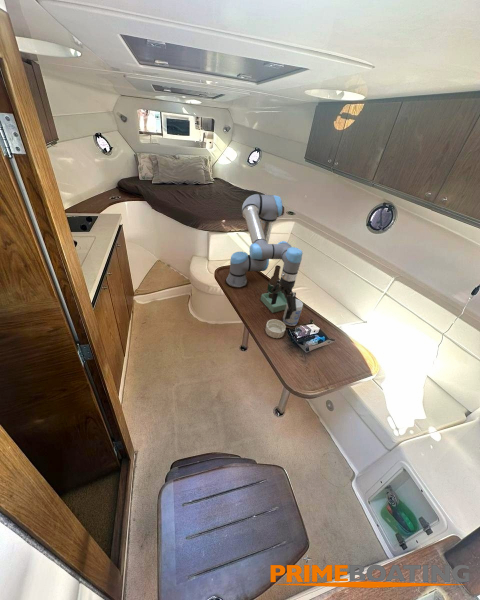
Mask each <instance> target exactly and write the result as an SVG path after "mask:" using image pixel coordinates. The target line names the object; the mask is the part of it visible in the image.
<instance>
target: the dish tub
mask: <svg viewBox="0 0 480 600" xmlns="http://www.w3.org/2000/svg"><path fill="white" fill-rule="evenodd" d="M268 297H269V293H267V292H265V293H261V295H260V298H259V299H260V301H261V302H262V303H263V304H264V305H265V306H266V308H267V309H268V310H269V311H270V312H271V313H272V314H274V313H277V312H281V311H285V308H286V304H287V300H286V298H285V295H284V294H283V293H282V292H281V291H280V292H279V293H278V296H277V300H276V304H273V305H271V302H272V299H271V298H268Z"/></svg>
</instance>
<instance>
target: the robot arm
mask: <svg viewBox="0 0 480 600" xmlns="http://www.w3.org/2000/svg"><path fill="white" fill-rule="evenodd" d="M241 214H242V217H243V218H244V219H245V222H246V226H247V230H248V234H249V237H250V241H251V244H250V246H249V254H248V253H247V252H245V251H236V252H233V253H231V256H230V260H229V261H230V262H229V263H230V264H229V273H228V275H227V277H226V281H225V282H226V284H227V285H228V287H231V288H233V289H242V288H244V287H246V286H247V284H248V279H247V275H246V273H247V272H259V273H260V272H265V271H266V270H268V267H269V265H270V260H281V261H282V262H283V266H282V271H281V275H280V277H279V278H280V280H277V282H276V284H275V285H274V286H273V288H272V289H271V292H272V294H273V295H272V302H271V305H273V304H276V300H277V296H278V294H277V293H279V292H280V291H281V292H282V293H283V294H284V295H285V298H286V300H287V304H288V309H287V313H286V316H285V320H287V319H290V316H291V315H292V312H294V311H296V299H297V298H296V297H297V292H296V291H295V292H293V288H294V287H295V284H296V280H297V277H298V273H299V270H300V267H301V262H302V259H303V254H304V253H303V251H302V249H300V248H298V247H295V246H292V245H291V244H290V243H289V242H288V241H285V240H282V241H280V242H279V241H278V243H269V242H270V239H271V238H270V237H271V233H272V229H273V226H274V225H273V224H274V223H275V222H276V221H277V219H278V217H281V215H282V214H283V201H282V198H281V196H279V195H274V194H258V193H255V194H251V195H249V196H248V197H247V198H246V199H245V200H244V201H243V204H242V206H241ZM278 287H279V289H277V288H278ZM276 289H277V290H276Z"/></svg>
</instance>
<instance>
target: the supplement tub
mask: <svg viewBox="0 0 480 600" xmlns="http://www.w3.org/2000/svg"><path fill="white" fill-rule="evenodd" d="M303 308H304V303H303V301H302V300H301V299H298V298H296V311H294V312H292V315H291V316H290V319H287V320H285V316H286V313H287V309H288V304H286V308H285V310H284V312H283V315H282V322H283V323H284V324H285V325H286V326H290V327H295V326H297V325H298V322H299V320H300V317H301V313H302V311H303Z"/></svg>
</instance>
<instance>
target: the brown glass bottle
mask: <svg viewBox="0 0 480 600" xmlns="http://www.w3.org/2000/svg"><path fill="white" fill-rule="evenodd" d="M280 271H281V266H280V265H275V266H274V271H273V274H272V276H271V277H270V279H269V281H268V284H267V289H266V293H269V297H268V298H271V299H272V295H273V294H272V292H271V289H272V288H273V286H274V285H275V284H276V282H277V280H280V278H281V277H280ZM279 288H280V286H279V287H278V288H277V289H279ZM277 289H276V290H277ZM277 294H278V293H277Z"/></svg>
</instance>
